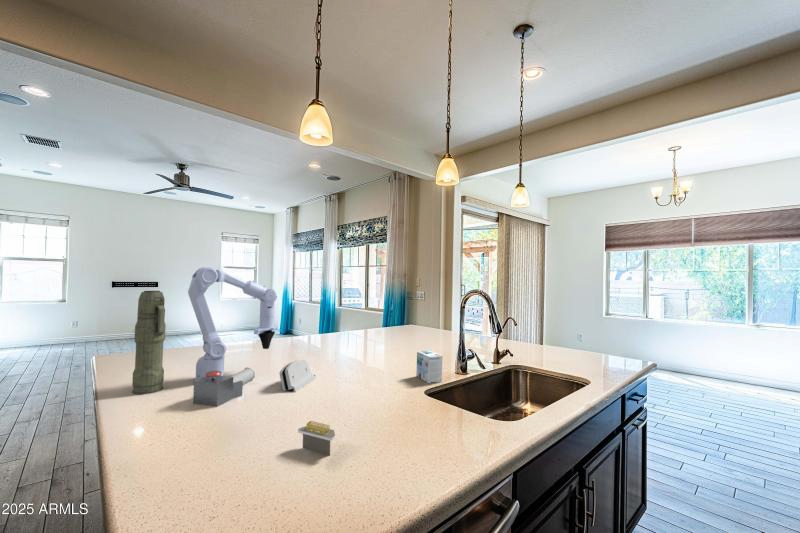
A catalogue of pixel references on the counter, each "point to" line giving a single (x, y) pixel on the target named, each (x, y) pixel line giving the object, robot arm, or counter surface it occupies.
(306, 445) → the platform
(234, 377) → the tube
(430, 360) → the light bulb box
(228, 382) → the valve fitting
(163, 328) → the thermos
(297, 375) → the white rounded casing
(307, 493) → the counter surface
